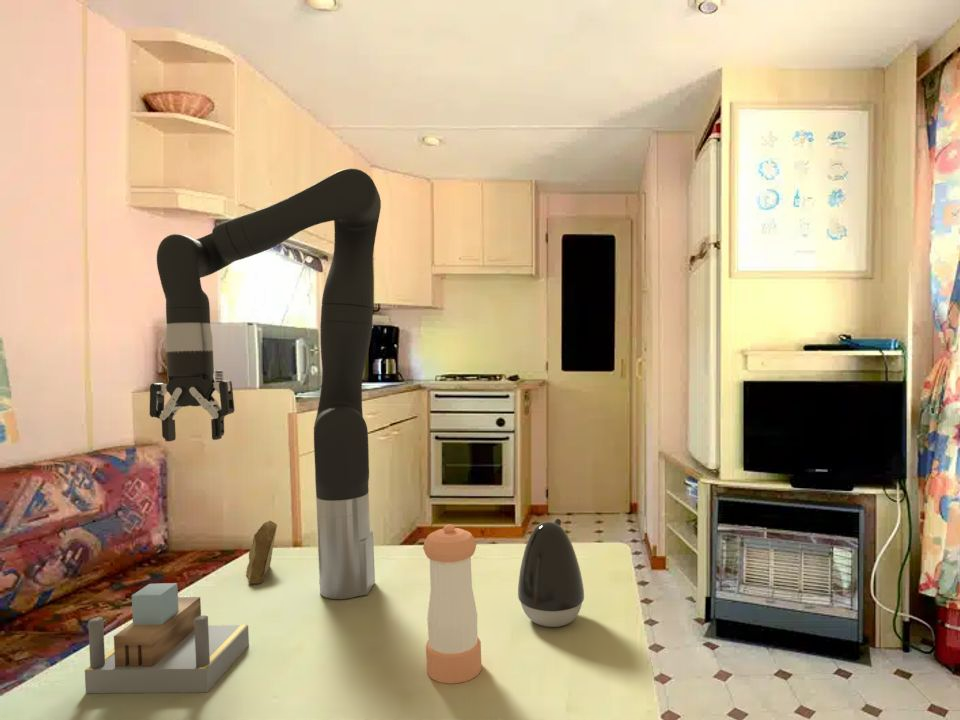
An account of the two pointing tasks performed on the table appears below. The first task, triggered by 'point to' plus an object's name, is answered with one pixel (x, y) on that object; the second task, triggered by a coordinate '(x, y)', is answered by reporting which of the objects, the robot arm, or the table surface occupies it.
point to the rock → (261, 552)
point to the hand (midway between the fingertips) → (193, 440)
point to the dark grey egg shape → (550, 577)
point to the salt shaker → (451, 607)
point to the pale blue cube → (155, 604)
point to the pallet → (155, 636)
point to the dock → (168, 661)
